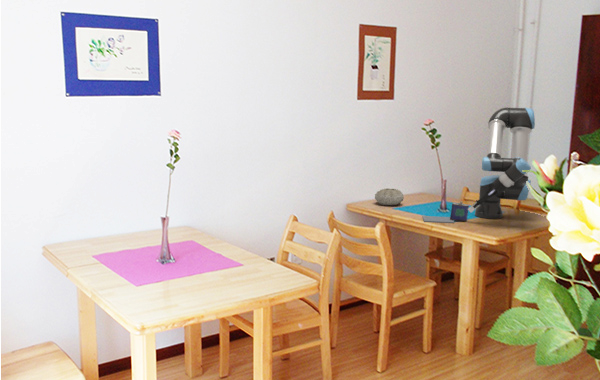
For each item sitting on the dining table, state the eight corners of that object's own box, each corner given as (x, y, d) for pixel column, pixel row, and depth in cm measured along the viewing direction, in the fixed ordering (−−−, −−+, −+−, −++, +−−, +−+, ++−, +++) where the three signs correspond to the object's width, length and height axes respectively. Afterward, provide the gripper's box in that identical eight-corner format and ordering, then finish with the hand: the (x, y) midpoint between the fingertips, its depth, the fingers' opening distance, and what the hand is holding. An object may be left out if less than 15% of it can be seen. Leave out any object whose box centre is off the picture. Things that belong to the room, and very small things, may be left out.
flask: (466, 220, 320) (468, 201, 318) (467, 221, 317) (470, 202, 316) (449, 218, 320) (452, 199, 319) (450, 220, 318) (453, 200, 316)
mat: (451, 218, 326) (451, 217, 326) (454, 223, 313) (454, 222, 313) (422, 216, 328) (422, 215, 328) (424, 221, 315) (424, 220, 315)
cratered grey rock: (369, 202, 368) (370, 187, 366) (393, 201, 374) (394, 185, 373) (384, 208, 351) (384, 191, 350) (409, 206, 358) (410, 190, 357)
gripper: (506, 189, 299) (471, 218, 309) (510, 186, 310) (476, 213, 320) (496, 178, 300) (462, 207, 311) (500, 175, 312) (467, 203, 322)
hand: (469, 210), depth 315 cm, fingers closed
